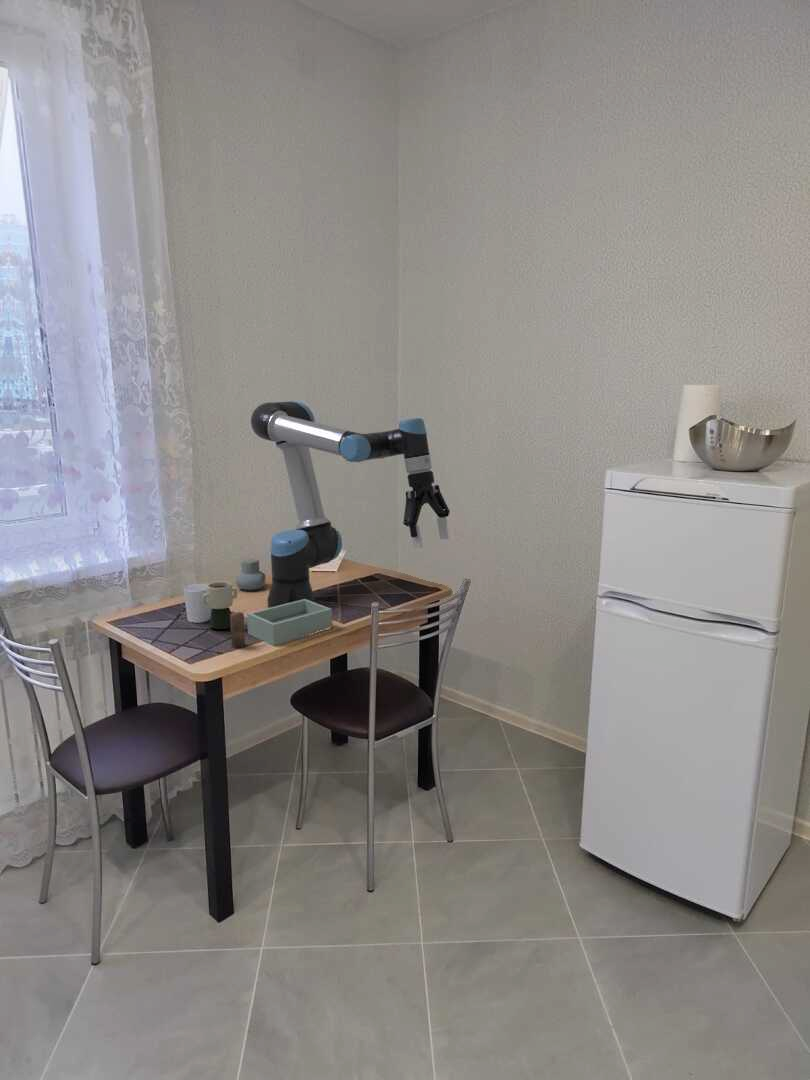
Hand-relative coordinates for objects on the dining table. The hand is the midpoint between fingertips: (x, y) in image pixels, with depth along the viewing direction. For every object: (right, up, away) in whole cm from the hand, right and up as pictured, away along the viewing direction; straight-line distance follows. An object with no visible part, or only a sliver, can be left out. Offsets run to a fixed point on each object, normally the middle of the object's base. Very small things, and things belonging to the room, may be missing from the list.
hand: (431, 543), depth 210 cm
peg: (-53, -28, -17) cm, 62 cm away
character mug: (-61, -25, -3) cm, 66 cm away
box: (-41, -25, -6) cm, 48 cm away
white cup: (-70, -23, +4) cm, 73 cm away
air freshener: (-61, -16, +35) cm, 72 cm away
